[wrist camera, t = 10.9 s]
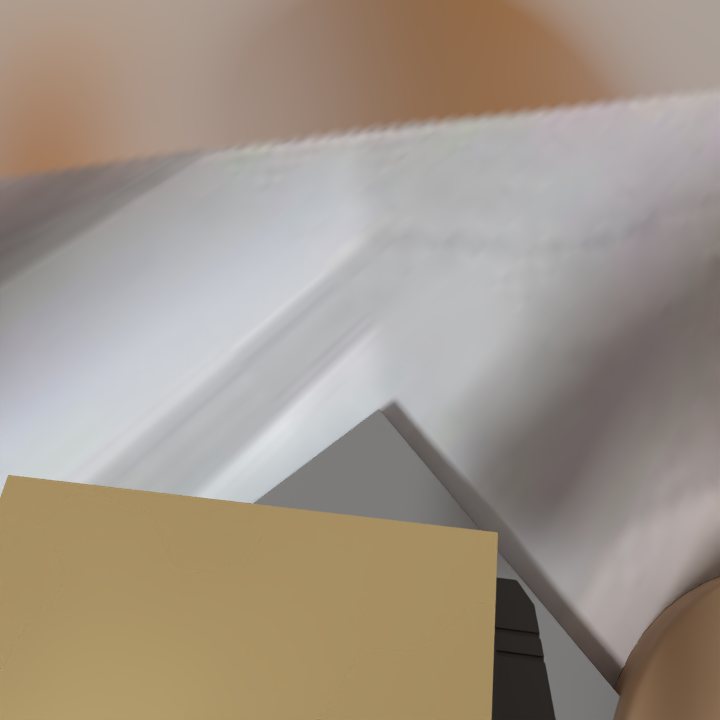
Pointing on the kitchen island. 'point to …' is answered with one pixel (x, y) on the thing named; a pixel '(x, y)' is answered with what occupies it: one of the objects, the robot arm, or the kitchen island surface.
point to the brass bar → (236, 610)
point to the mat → (435, 507)
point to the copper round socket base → (676, 662)
